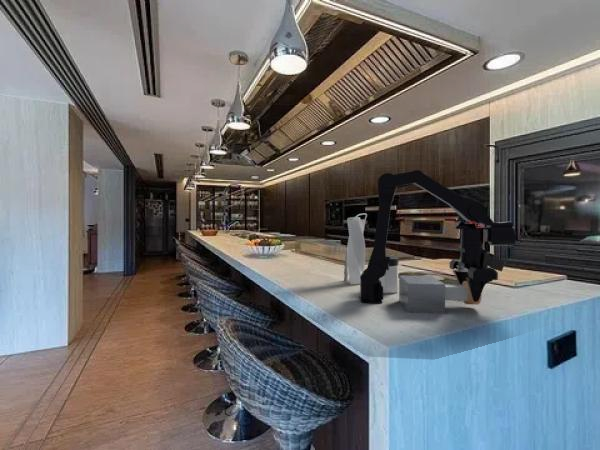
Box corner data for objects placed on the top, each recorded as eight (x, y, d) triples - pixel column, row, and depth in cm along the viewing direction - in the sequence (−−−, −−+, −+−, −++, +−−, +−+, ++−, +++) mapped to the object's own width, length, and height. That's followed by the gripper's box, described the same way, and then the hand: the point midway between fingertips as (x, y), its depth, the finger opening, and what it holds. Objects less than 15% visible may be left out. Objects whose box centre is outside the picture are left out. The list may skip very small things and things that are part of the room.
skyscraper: (363, 281, 132) (364, 213, 131) (368, 285, 124) (369, 213, 123) (343, 281, 131) (343, 213, 130) (347, 285, 123) (347, 213, 122)
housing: (407, 312, 89) (407, 283, 89) (399, 300, 101) (399, 275, 101) (444, 313, 88) (445, 284, 88) (431, 301, 100) (432, 276, 100)
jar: (403, 291, 114) (404, 257, 113) (390, 294, 108) (390, 259, 108) (382, 286, 120) (382, 255, 120) (368, 290, 115) (369, 256, 115)
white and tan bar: (429, 305, 91) (429, 282, 91) (423, 299, 98) (423, 278, 98) (481, 307, 90) (481, 283, 90) (471, 301, 96) (471, 279, 96)
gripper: (520, 248, 82) (518, 308, 83) (486, 242, 101) (485, 291, 101) (474, 248, 84) (473, 307, 84) (449, 241, 102) (448, 290, 103)
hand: (470, 298), depth 93 cm, fingers closed on white and tan bar, 7 cm apart
